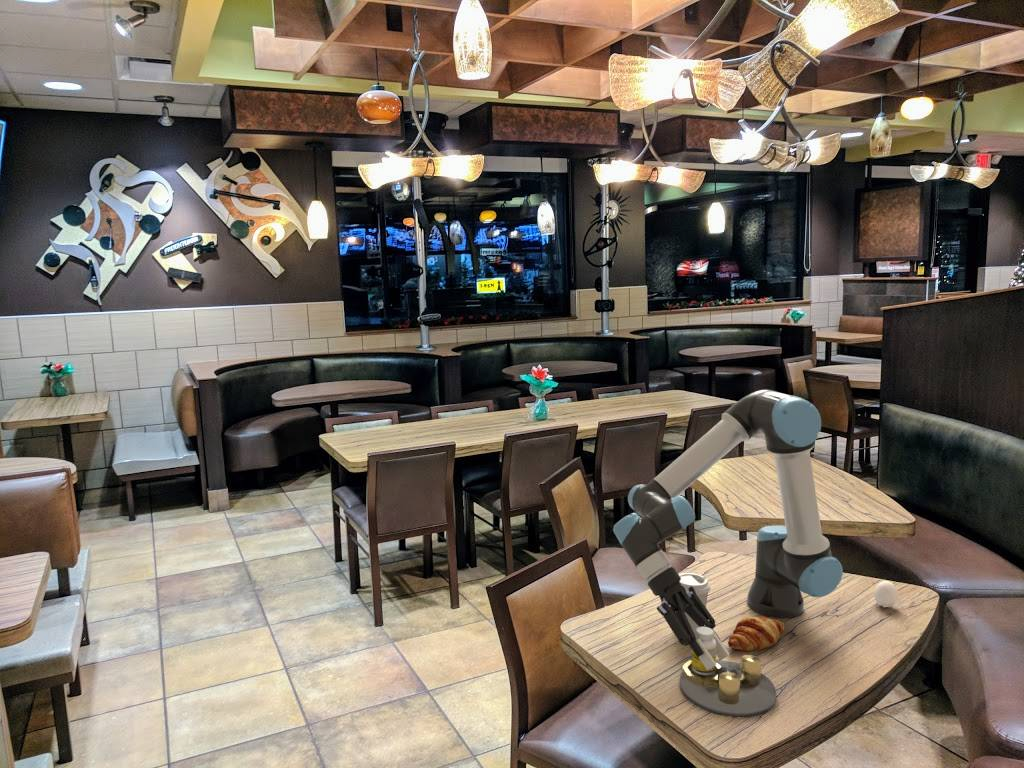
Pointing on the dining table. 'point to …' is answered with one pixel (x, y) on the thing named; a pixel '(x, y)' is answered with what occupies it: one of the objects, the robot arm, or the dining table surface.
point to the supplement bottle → (710, 644)
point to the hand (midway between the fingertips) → (718, 662)
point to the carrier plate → (746, 695)
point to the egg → (886, 594)
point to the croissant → (755, 633)
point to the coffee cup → (700, 588)
